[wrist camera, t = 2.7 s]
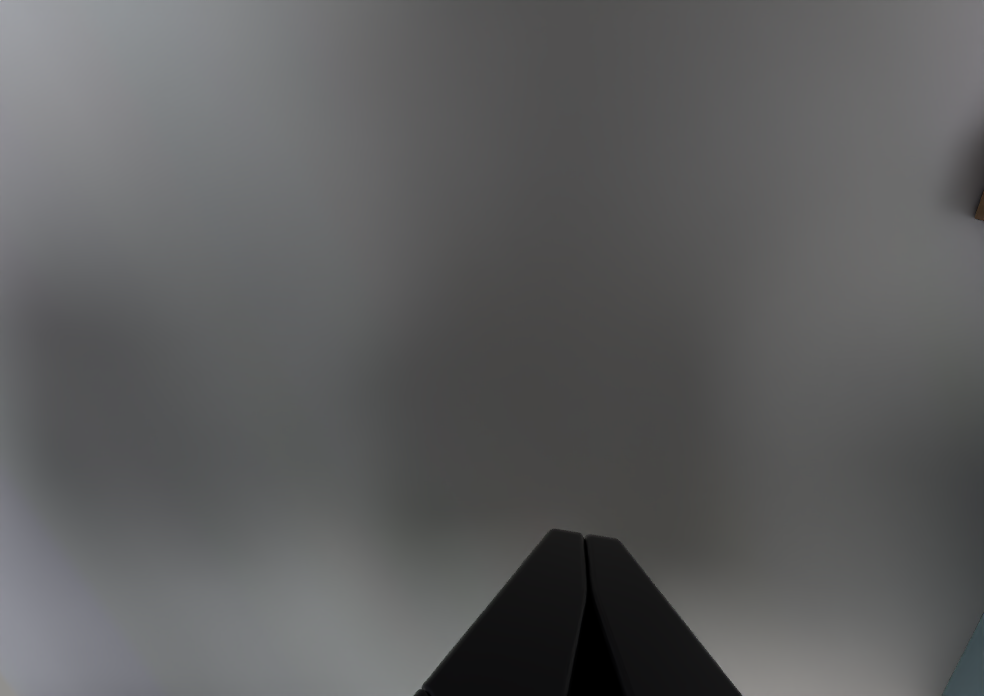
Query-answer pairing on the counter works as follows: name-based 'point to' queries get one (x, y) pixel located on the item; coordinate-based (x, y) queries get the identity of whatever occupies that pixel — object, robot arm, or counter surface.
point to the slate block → (969, 668)
